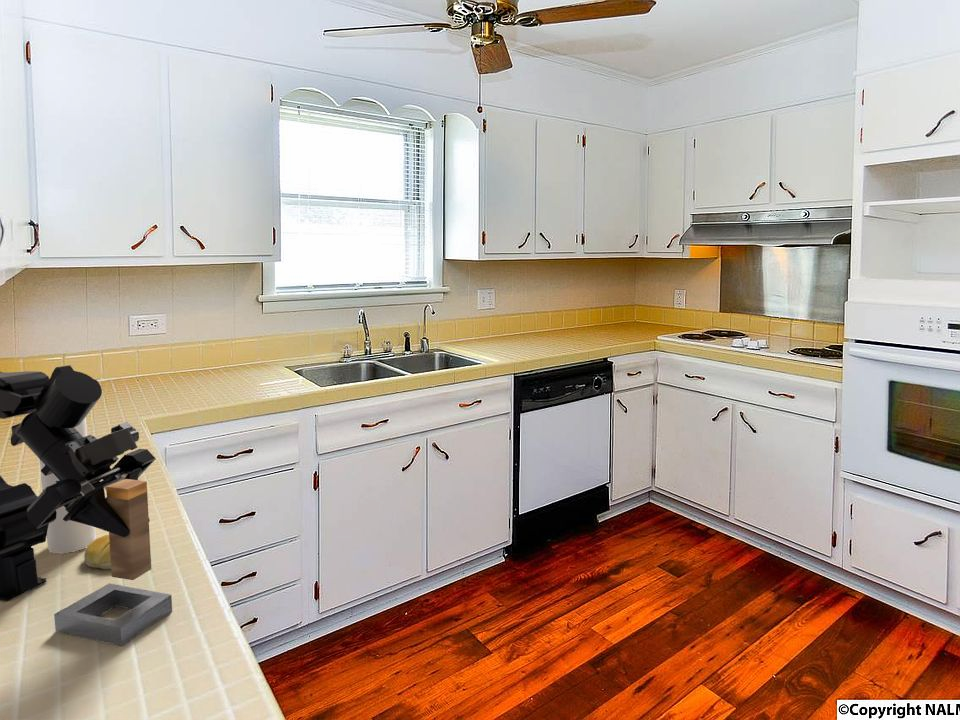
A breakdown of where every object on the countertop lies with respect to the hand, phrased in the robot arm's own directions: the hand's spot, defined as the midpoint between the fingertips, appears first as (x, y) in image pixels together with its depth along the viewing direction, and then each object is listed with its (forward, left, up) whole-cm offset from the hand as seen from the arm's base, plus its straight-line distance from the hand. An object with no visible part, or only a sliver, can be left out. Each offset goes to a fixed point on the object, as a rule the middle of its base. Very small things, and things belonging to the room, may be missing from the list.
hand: (137, 529), depth 92 cm
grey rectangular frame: (-2, -3, -12) cm, 13 cm away
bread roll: (-18, +13, -13) cm, 25 cm away
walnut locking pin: (-1, 0, -7) cm, 7 cm away
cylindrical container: (-29, +15, -13) cm, 35 cm away
